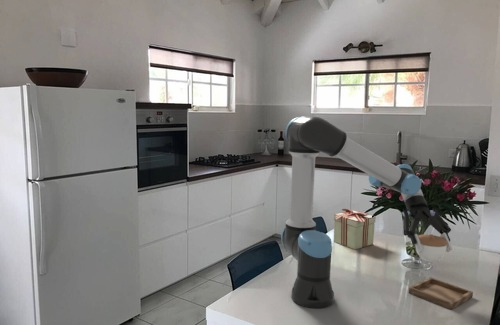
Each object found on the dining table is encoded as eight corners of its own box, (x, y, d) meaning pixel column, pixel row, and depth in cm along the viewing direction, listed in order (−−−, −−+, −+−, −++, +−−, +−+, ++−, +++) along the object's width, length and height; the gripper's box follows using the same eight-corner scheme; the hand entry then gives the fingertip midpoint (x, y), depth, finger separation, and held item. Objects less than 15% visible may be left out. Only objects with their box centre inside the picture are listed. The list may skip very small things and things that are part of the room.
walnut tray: (451, 309, 137) (452, 303, 137) (408, 292, 150) (409, 287, 150) (472, 297, 147) (472, 291, 147) (430, 282, 160) (430, 277, 159)
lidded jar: (439, 254, 152) (440, 230, 151) (451, 265, 142) (452, 239, 140) (410, 253, 153) (411, 229, 152) (419, 264, 142) (421, 239, 141)
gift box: (327, 243, 206) (329, 210, 204) (349, 236, 217) (351, 205, 215) (355, 252, 193) (357, 217, 191) (377, 245, 205) (379, 212, 202)
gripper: (436, 203, 162) (459, 254, 149) (382, 205, 158) (401, 257, 145) (445, 193, 156) (470, 245, 143) (390, 194, 153) (409, 248, 139)
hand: (435, 251), depth 144 cm, fingers closed on lidded jar, 11 cm apart
